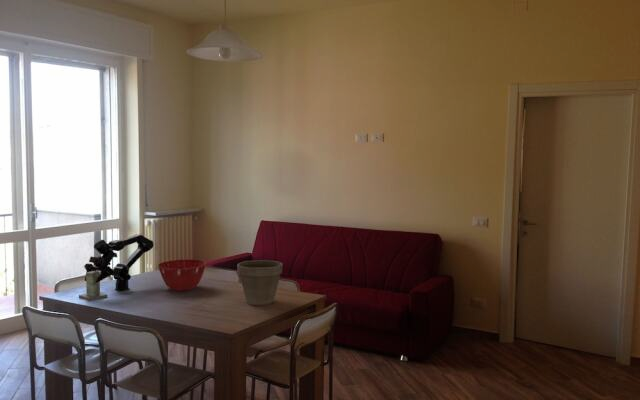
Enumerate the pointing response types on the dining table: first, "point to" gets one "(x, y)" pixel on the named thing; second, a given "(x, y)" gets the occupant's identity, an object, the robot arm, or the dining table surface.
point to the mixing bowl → (182, 273)
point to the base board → (89, 298)
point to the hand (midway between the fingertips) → (90, 281)
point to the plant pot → (259, 280)
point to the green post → (92, 283)
